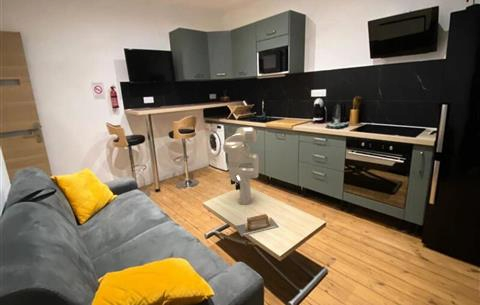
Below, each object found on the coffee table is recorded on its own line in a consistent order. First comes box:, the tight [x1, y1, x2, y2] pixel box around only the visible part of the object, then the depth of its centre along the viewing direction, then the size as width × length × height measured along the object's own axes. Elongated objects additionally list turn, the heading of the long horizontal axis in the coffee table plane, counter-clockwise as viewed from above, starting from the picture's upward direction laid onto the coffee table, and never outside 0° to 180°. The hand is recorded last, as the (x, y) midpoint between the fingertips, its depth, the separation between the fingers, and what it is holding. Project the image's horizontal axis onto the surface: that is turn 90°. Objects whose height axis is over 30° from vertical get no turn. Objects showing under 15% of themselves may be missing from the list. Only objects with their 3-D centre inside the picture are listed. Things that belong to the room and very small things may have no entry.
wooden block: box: [246, 213, 269, 231], centre depth 165 cm, size 4×14×8 cm, turn 109°
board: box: [235, 217, 280, 237], centre depth 167 cm, size 13×28×6 cm, turn 109°
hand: (235, 186), depth 163 cm, fingers open, 9 cm apart
